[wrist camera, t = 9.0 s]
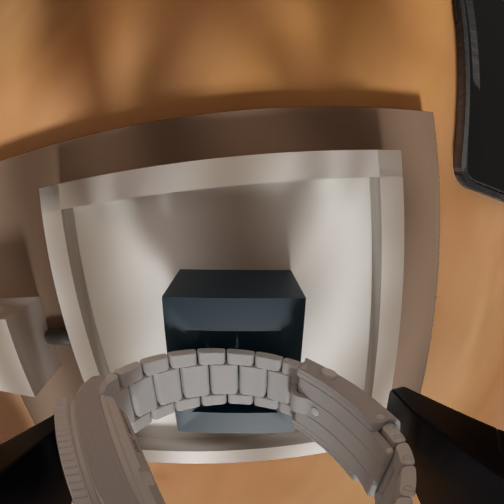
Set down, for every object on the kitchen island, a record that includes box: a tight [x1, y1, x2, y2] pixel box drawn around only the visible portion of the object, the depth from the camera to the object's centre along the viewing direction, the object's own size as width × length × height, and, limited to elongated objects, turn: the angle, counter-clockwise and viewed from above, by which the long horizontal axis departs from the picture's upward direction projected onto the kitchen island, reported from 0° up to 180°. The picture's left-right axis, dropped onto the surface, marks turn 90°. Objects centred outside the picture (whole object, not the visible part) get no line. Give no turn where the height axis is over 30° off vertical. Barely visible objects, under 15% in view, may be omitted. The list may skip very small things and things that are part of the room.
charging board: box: [0, 107, 440, 464], centre depth 13 cm, size 24×18×4 cm
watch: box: [54, 269, 416, 504], centre depth 8 cm, size 6×8×11 cm
